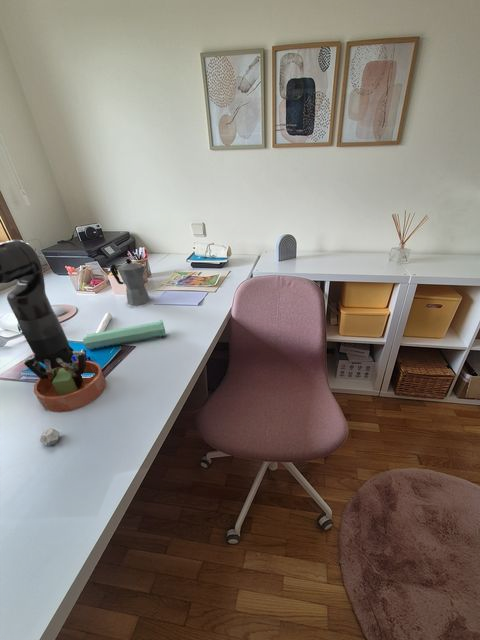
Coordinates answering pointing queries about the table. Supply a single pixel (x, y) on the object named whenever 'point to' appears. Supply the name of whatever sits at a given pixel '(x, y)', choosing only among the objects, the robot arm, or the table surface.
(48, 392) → the basin
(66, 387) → the sponge
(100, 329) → the marker
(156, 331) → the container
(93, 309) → the table surface
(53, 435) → the grey rock
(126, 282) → the coffeepot
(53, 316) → the robot arm
